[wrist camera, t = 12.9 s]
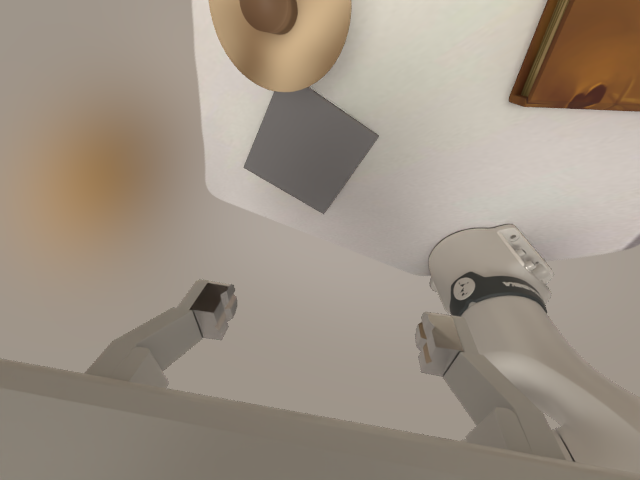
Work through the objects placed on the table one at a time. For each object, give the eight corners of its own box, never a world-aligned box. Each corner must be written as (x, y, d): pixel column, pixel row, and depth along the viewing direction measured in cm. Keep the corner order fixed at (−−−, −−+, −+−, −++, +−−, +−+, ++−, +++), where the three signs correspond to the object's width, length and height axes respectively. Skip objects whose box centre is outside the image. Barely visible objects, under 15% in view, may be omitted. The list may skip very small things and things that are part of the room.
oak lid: (381, -31, 18) (386, -53, 15) (309, 115, 25) (299, 127, 21) (237, -148, 16) (198, -209, 12) (198, 44, 22) (164, 43, 19)
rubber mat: (378, 135, 39) (378, 136, 38) (324, 212, 48) (323, 214, 47) (284, 70, 36) (282, 70, 35) (244, 166, 45) (243, 167, 44)
